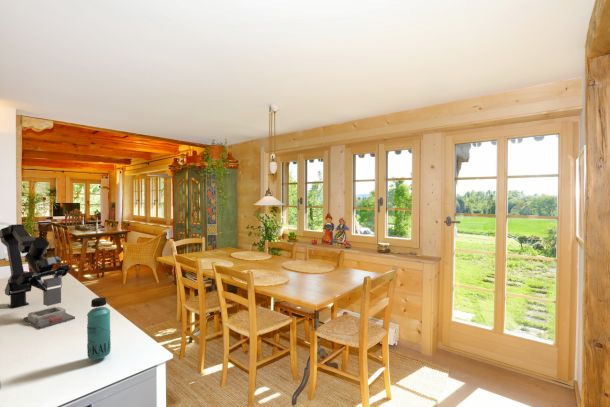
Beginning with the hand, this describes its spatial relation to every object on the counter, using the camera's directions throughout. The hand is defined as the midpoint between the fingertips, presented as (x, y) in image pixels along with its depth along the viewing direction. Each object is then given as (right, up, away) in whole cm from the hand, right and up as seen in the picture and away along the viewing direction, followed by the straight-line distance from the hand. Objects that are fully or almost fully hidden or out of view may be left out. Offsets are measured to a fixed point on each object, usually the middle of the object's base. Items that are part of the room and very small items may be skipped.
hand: (54, 289), depth 137 cm
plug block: (-1, -7, +1) cm, 7 cm away
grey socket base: (0, -13, -2) cm, 13 cm away
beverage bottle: (+44, -13, -36) cm, 58 cm away
